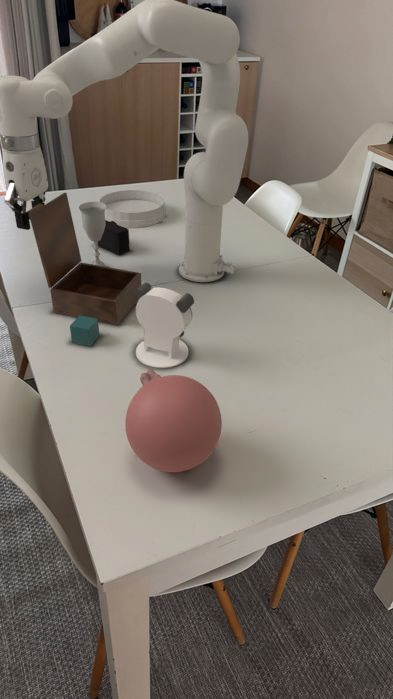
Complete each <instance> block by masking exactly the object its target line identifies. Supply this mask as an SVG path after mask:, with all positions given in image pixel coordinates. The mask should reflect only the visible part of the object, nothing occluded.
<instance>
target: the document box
mask: <svg viewBox="0 0 393 699" xmlns="http://www.w3.org/2000/svg"><path fill="white" fill-rule="evenodd" d="M142 285H143V284H142V272H138V271H132V270H126V269H121V268H115V267H109V266H106V267H104V266H98V265H93V264H92V263H87V262H80V263H79V264H78V265H76V266H75V267H74V268H73V269H72V270H71V271H70V272H69V273H67V274H66V275H65V276H64V277H63V278H62V279H61V280H60V281H58V282H57V283H56V284H55V285H54V286H53V287H52V288H49V289H50V290H49V291H50V297H51V303H52V310H53V313H54V314H59V315H63V316H68V317H74V318H78V316H79V315H80V316H85V317H90V318H95V319H98V323H104V324H109V325H114V326H118V325H120V324H121V322H122V321H123V319H124V318H125V317H126V315H127V314H128V313H129V312H130V310H132V308H133V307H134V305H135V304H137V302H138V300H139V299H140V298H137V297H136V296H135V291H136V290H137V289H138V288H139V287H140V286H142Z"/></svg>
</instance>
